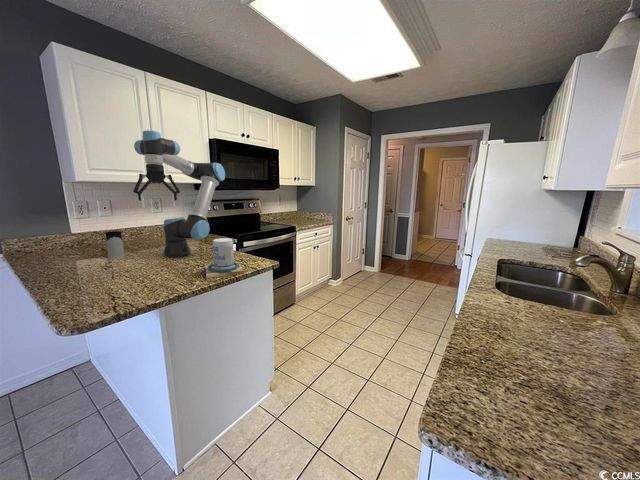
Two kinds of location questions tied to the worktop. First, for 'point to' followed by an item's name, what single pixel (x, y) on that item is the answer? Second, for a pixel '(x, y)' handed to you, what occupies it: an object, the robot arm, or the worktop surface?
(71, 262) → the worktop surface
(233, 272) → the nest board
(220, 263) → the supplement tub
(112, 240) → the glass holder
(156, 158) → the robot arm
